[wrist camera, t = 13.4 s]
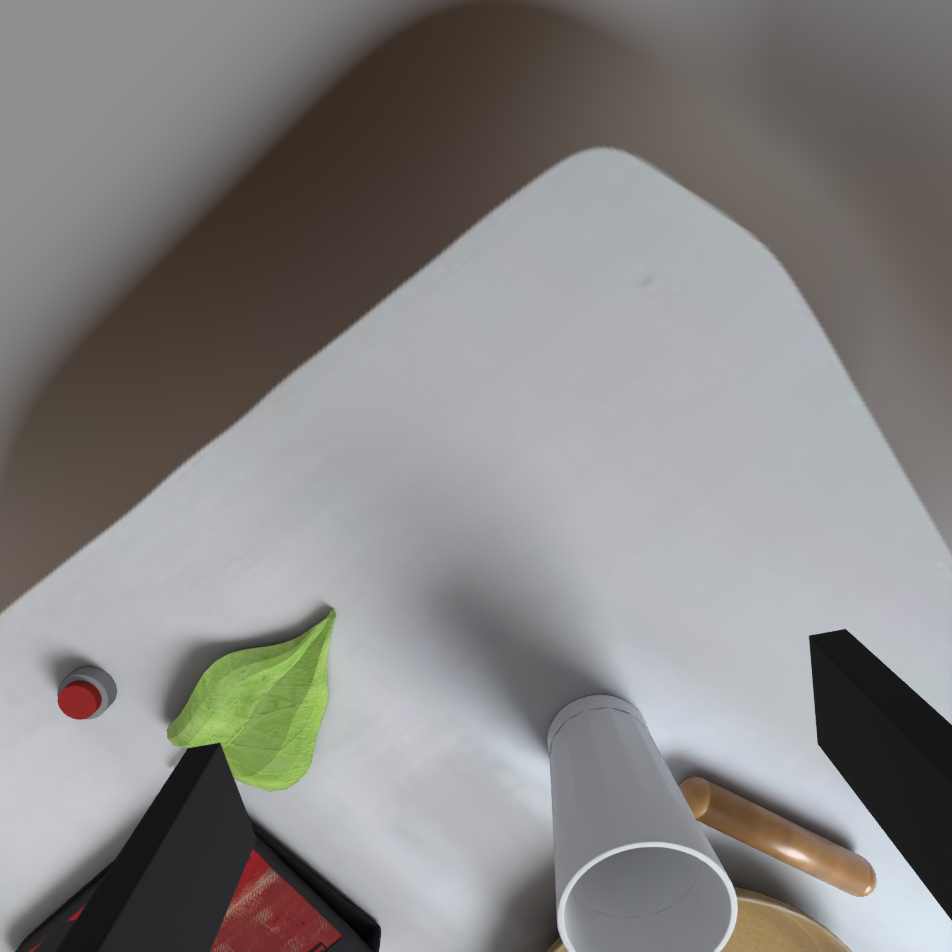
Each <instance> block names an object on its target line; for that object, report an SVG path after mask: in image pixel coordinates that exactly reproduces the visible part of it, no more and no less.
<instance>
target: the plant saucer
mask: <svg viewBox="0 0 952 952" xmlns="http://www.w3.org/2000/svg"><path fill="white" fill-rule="evenodd" d="M734 890H735V893H736V897H737V906H738V911H737V919H736V924H735V927H734V930H733V932H732V935H731V936H730V938H729V940H728V942H727V943H726V945H725V946H724V948H723V949H722V950H721V951H720V952H852V951H851V950H850V949H849V948H848V947H847V946H846V945H845V944H844V943H843V942H842V941H841V940H840V939H839V938H838V937H836V936H835V935H834V934H833V933H832V932H830V931H829V930H828V929H827V928H826V927H824V926H823V925H822V924H820V923H819V922H817V921H816V920H814V919H813V918H811V917H810V916H808V915H807V914H805V913H803V912H802V911H800V910H798V909H796V908H794V907H792V906H790V905H788V904H786V903H784V902H782V901H779V900H777V899H775V898H772V897H769V896H767V895H764V894H761V893H758V892H755V891H751V890H747V889H743V888H739V887H734ZM546 952H568V950H567V949H566V947H565V945H564V944H563V942H562V939H561V937H559V938H558V939H557V940H556V941H555V942H554V943H553V944H552V945H551V947H550V948H549V949H548V950H547V951H546Z"/></svg>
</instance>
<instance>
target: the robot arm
mask: <svg viewBox="0 0 952 952" xmlns="http://www.w3.org/2000/svg"><path fill="white" fill-rule="evenodd" d="M809 641H810V654H811V666H812V678H813V690H814V703H815V715H816V727H817V740H818V745H819V746H820V747H821V749H822V750H823V751H824V753H825V754H826V755H827V757H828V758H829V759H830V760H831V762H832V763H833V764H834V766H835V767H836V768H837V770H838V771H839V772H840V774H841V775H842V776H843V778H844V779H845V780H846V782H847V783H848V784H849V786H850V787H851V788H852V789H853V791H854V792H855V793H856V795H857V796H858V797H859V799H860V800H861V801H862V803H863V804H864V805H865V807H866V808H867V809H868V811H869V812H870V813H871V815H872V816H873V817H874V818H875V820H876V821H877V822H878V824H879V825H880V826H881V828H882V829H883V830H884V832H885V833H886V834H887V836H888V837H889V838H890V840H891V841H892V842H893V844H894V845H895V846H896V848H897V849H898V850H899V851H900V853H901V854H902V855H903V857H904V858H905V859H906V861H907V862H908V863H909V865H910V866H911V867H912V869H913V870H914V871H915V873H916V874H917V875H918V877H919V878H920V879H921V880H922V882H923V883H924V884H925V886H926V887H927V888H928V890H929V891H930V892H931V894H932V895H933V896H934V898H935V899H936V900H937V902H938V903H939V904H940V906H941V907H942V908H943V909H944V911H945V912H946V913H947V915H948V916H949V917H950V919H951V920H952V725H951V724H950V723H949V722H948V721H947V720H946V719H945V718H943V717H942V716H941V715H940V714H939V713H938V712H937V711H936V710H935V709H933V708H932V707H931V706H930V705H929V704H928V703H927V702H926V701H925V700H923V699H922V698H921V697H920V696H919V695H918V694H917V693H916V692H915V691H914V690H912V689H911V688H910V687H909V686H908V685H907V684H906V683H905V682H904V681H902V680H901V679H900V678H899V677H898V676H897V675H896V674H895V673H894V672H893V671H891V670H890V669H889V668H888V667H887V666H886V665H885V664H884V663H883V662H881V661H880V660H879V659H878V658H877V657H876V656H875V655H874V654H873V653H872V652H870V651H869V650H868V649H867V648H866V647H865V646H864V645H863V644H862V643H860V642H859V641H858V640H857V639H856V638H855V637H854V636H853V635H852V634H850V633H849V632H848V631H847V630H846V629H844V630H838V631H832V632H827V633H821V634H816V635H810V636H809ZM256 840H257V839H256V836H255V833H254V831H253V828H252V825H251V823H250V820H249V817H248V815H247V812H246V809H245V807H244V804H243V801H242V799H241V796H240V793H239V791H238V788H237V785H236V783H235V780H234V778H233V775H232V772H231V770H230V767H229V764H228V762H227V759H226V756H225V754H224V751H223V748H222V746H221V743H214V744H209V745H203V746H198V747H192V748H188V749H187V751H186V752H185V754H184V755H183V757H182V758H181V760H180V761H179V763H178V764H177V766H176V767H175V769H174V770H173V772H172V774H171V775H170V777H169V778H168V780H167V781H166V783H165V784H164V786H163V787H162V789H161V790H160V792H159V793H158V795H157V797H156V798H155V800H154V801H153V803H152V804H151V806H150V807H149V809H148V810H147V812H146V813H145V815H144V817H143V818H142V820H141V821H140V823H139V824H138V826H137V827H136V829H135V830H134V832H133V833H132V835H131V836H130V838H129V840H128V841H127V843H126V844H125V846H124V847H123V849H122V850H121V852H120V853H119V855H118V856H117V858H116V859H115V861H114V863H113V864H112V866H111V867H110V869H109V870H108V872H107V873H106V875H105V876H104V878H103V879H102V881H101V882H100V884H99V886H98V887H97V889H96V890H95V892H94V893H93V895H92V896H91V898H90V899H89V901H88V902H87V904H86V905H85V907H84V909H83V910H82V912H81V913H80V915H79V916H78V918H77V919H76V920H71V921H65V922H62V923H61V924H60V925H59V926H58V927H57V928H56V929H55V930H54V931H53V932H52V933H51V934H50V935H49V936H48V937H47V938H46V939H45V940H44V941H43V942H42V943H41V944H40V945H39V946H38V947H37V948H36V949H35V950H34V951H33V952H210V951H211V949H212V946H213V944H214V941H215V939H216V937H217V934H218V932H219V929H220V927H221V925H222V922H223V920H224V917H225V915H226V913H227V910H228V908H229V905H230V903H231V900H232V898H233V896H234V893H235V891H236V888H237V886H238V884H239V881H240V879H241V876H242V874H243V872H244V869H245V867H246V864H247V862H248V859H249V857H250V855H251V852H252V850H253V847H254V845H255V843H256Z"/></svg>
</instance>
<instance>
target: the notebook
mask: <svg viewBox="0 0 952 952" xmlns="http://www.w3.org/2000/svg"><path fill="white" fill-rule="evenodd" d="M251 825H252V824H251ZM252 828H253V831H254V833H255V836H256V839H257V840H256V843H255V845H254V847H253V850H252V852H251V855H250V857H249V859H248V862H247V864H246V867H245V869H244V872H243V874H242V876H241V879H240V881H239V884H238V886H237V888H236V891H235V893H234V896H233V898H232V900H231V903H230V905H229V908H228V910H227V913H226V915H225V917H224V920H223V922H222V925H221V927H220V929H219V932H218V934H217V937H216V939H215V941H214V944H213V946H212V949H211V951H210V952H379V947H380V938H381V928H380V926H379V925H378V924H377V923H376V922H374V921H373V920H372V919H371V918H369V917H368V916H367V915H366V914H364V913H363V912H362V911H360V910H359V909H358V908H356V907H355V906H354V905H352V904H351V903H350V902H349V901H347V900H346V899H345V898H343V897H342V896H341V895H340V894H338V893H337V892H336V891H334V890H333V889H332V888H331V887H330V886H328V885H327V884H326V883H324V882H323V881H322V880H321V879H319V878H318V877H317V876H316V875H314V874H313V873H312V872H311V871H309V870H308V869H307V868H306V867H305V866H303V865H302V864H301V863H300V862H298V861H297V860H296V859H295V858H293V857H292V856H291V855H290V854H288V853H287V852H286V851H285V850H283V849H282V848H281V847H280V846H279V845H277V844H276V843H275V842H274V841H272V840H271V839H270V838H269V837H267V836H266V835H265V834H264V833H262V832H261V831H260V830H259V829H257V828H256V827H255V826H254V825H252ZM114 861H115V860H114ZM114 861H113V862H112V863H111V864H110V865H108V866H107V867H106V868H105V869H104V870H103V871H102V872H100V873H99V874H98V875H97V876H96V877H95V878H93V879H92V880H91V881H90V882H89V883H88V884H86V885H85V886H84V887H83V888H82V889H81V890H80V891H79V892H77V893H76V894H75V895H74V896H73V897H71V898H70V899H69V900H68V901H67V902H66V903H65V904H63V905H62V906H61V907H60V908H59V909H58V910H57V911H56V912H54V913H53V914H52V915H51V916H50V917H49V918H47V919H46V920H45V921H44V922H43V923H42V924H41V925H40V926H39V927H38V928H36V929H35V930H34V931H33V932H32V933H31V934H30V935H29V936H28V937H27V938H26V939H25V940H24V941H23V942H22V943H21V944H20V945H19V947H18V949H17V950H16V951H15V952H33V951H34V950H35V949H36V948H37V947H38V946H39V945H40V944H41V943H42V942H43V941H44V940H45V939H46V938H47V937H48V936H49V935H50V934H51V933H52V932H53V931H54V930H55V929H56V928H57V927H58V926H59V925H60V924H61V923H62V922H65V921H71V920H76V919H77V918H78V916H79V915H80V913H81V912H82V910H83V909H84V907H85V905H86V904H87V902H88V901H89V899H90V898H91V896H92V895H93V893H94V892H95V890H96V889H97V887H98V886H99V884H100V882H101V881H102V879H103V878H104V876H105V875H106V873H107V872H108V870H109V869H110V867H111V866H112V864H113V863H114Z"/></svg>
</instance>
